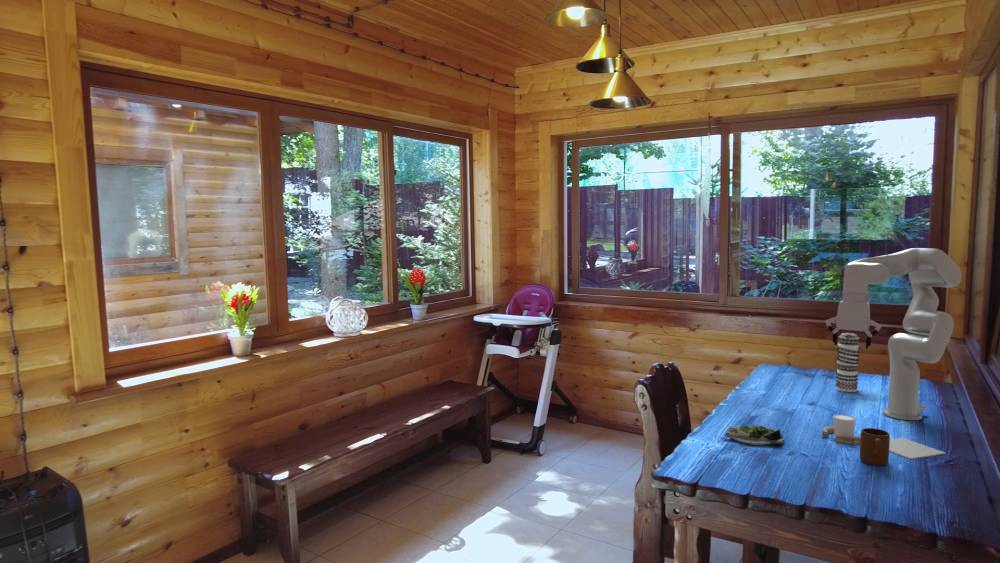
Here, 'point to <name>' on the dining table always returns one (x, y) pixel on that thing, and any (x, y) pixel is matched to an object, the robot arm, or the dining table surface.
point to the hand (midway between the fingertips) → (851, 346)
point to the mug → (874, 446)
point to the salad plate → (755, 435)
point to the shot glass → (844, 425)
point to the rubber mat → (911, 449)
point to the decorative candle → (847, 362)
